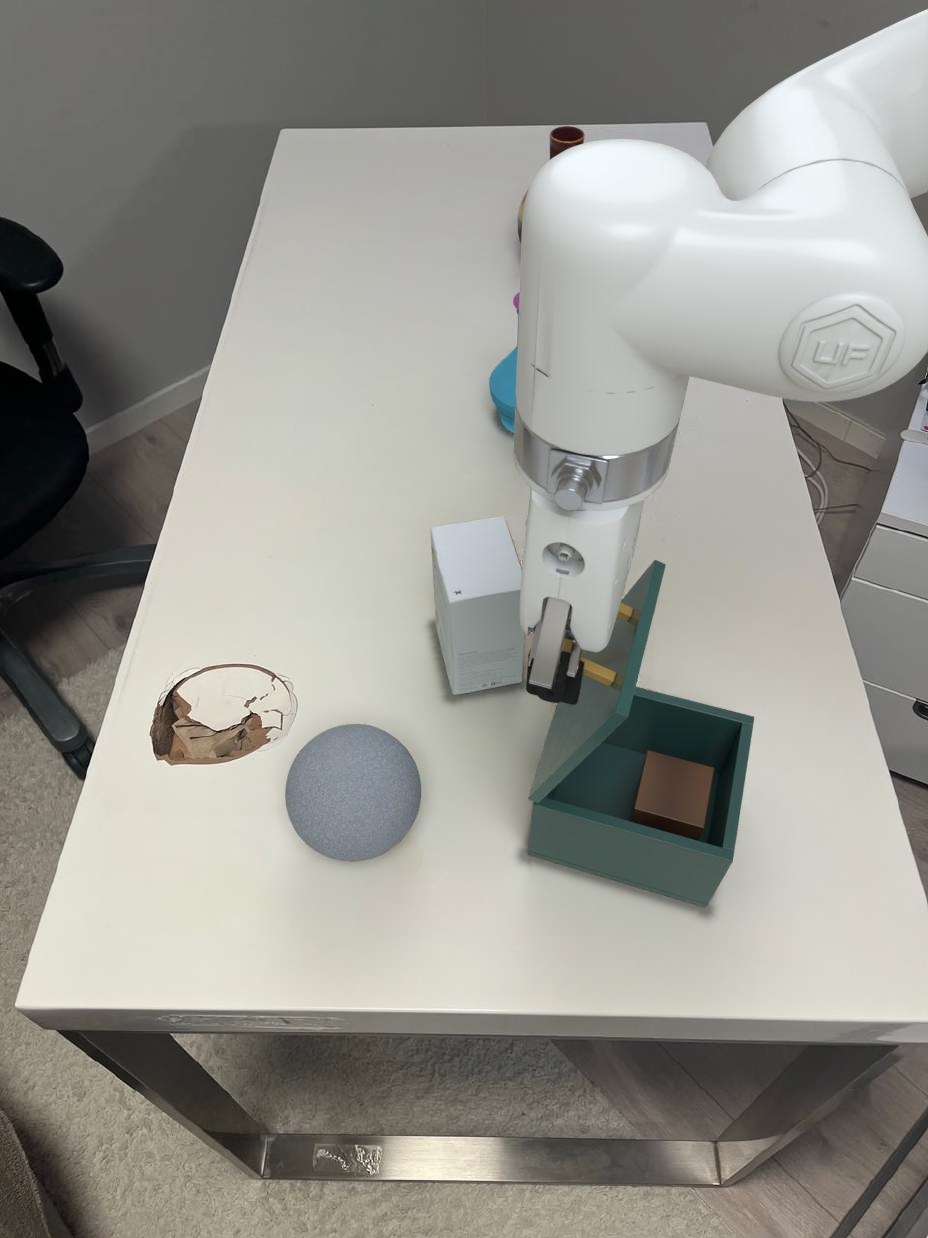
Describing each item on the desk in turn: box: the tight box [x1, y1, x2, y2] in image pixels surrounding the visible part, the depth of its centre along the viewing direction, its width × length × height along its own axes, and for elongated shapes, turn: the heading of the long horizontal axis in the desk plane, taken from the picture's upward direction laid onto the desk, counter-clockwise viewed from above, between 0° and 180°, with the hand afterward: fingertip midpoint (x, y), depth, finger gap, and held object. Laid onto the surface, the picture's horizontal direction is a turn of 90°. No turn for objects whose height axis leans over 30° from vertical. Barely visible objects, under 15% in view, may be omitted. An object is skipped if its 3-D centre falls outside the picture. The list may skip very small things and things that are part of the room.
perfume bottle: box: [488, 291, 520, 434], centre depth 93 cm, size 9×9×15 cm
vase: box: [516, 125, 586, 244], centre depth 112 cm, size 11×11×15 cm
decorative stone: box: [284, 723, 422, 863], centre depth 67 cm, size 10×10×10 cm
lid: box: [528, 559, 667, 803], centre depth 59 cm, size 14×12×5 cm
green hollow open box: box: [527, 686, 755, 909], centre depth 67 cm, size 14×12×9 cm
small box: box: [430, 515, 526, 696], centre depth 75 cm, size 8×6×13 cm
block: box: [629, 750, 714, 841], centre depth 68 cm, size 5×5×5 cm
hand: (566, 650), depth 57 cm, fingers closed on lid, 6 cm apart
